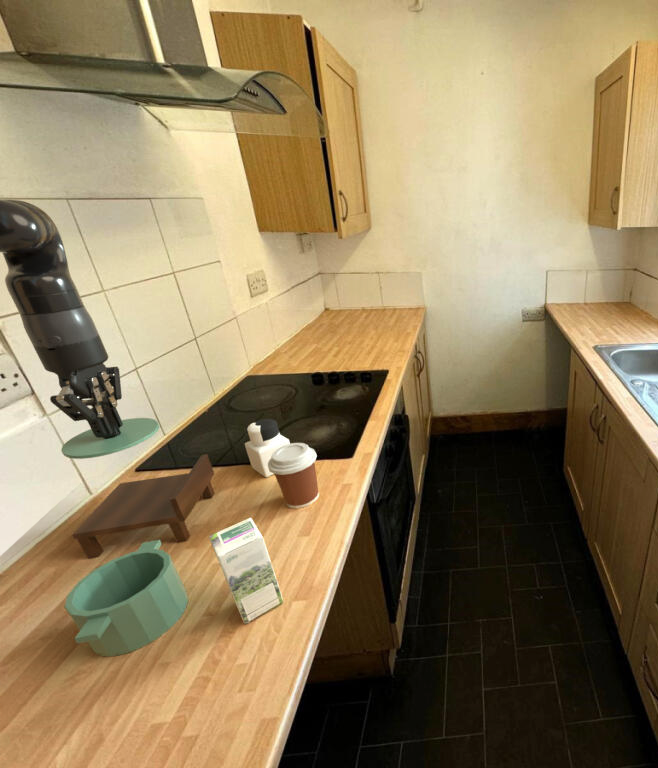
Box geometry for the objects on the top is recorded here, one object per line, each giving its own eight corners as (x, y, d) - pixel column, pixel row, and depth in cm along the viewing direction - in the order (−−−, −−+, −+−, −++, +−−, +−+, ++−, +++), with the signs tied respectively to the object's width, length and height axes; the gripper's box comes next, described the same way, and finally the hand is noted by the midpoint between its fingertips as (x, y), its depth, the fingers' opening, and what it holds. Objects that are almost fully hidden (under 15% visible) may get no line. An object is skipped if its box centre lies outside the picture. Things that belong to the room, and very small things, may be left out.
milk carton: (273, 581, 70) (250, 514, 64) (285, 603, 66) (262, 534, 61) (235, 602, 67) (207, 533, 61) (245, 627, 63) (216, 556, 57)
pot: (58, 686, 55) (27, 644, 52) (128, 582, 70) (107, 545, 67) (159, 662, 58) (136, 621, 55) (206, 567, 73) (190, 530, 70)
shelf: (85, 560, 75) (60, 516, 71) (131, 506, 88) (112, 467, 84) (193, 540, 79) (175, 498, 75) (221, 491, 92) (207, 453, 88)
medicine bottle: (281, 454, 106) (269, 413, 101) (295, 464, 102) (284, 421, 97) (251, 468, 100) (237, 425, 95) (266, 478, 96) (252, 434, 92)
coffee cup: (302, 517, 85) (289, 468, 80) (269, 506, 88) (254, 459, 83) (334, 490, 92) (324, 444, 88) (302, 481, 95) (291, 436, 90)
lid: (44, 467, 66) (23, 431, 64) (94, 428, 78) (78, 396, 75) (138, 455, 69) (122, 420, 67) (173, 419, 81) (161, 388, 78)
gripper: (67, 327, 71) (108, 416, 78) (-1, 353, 59) (55, 456, 66) (119, 323, 73) (155, 411, 80) (64, 348, 60) (112, 449, 67)
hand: (110, 431), depth 73 cm, fingers closed on lid, 2 cm apart
